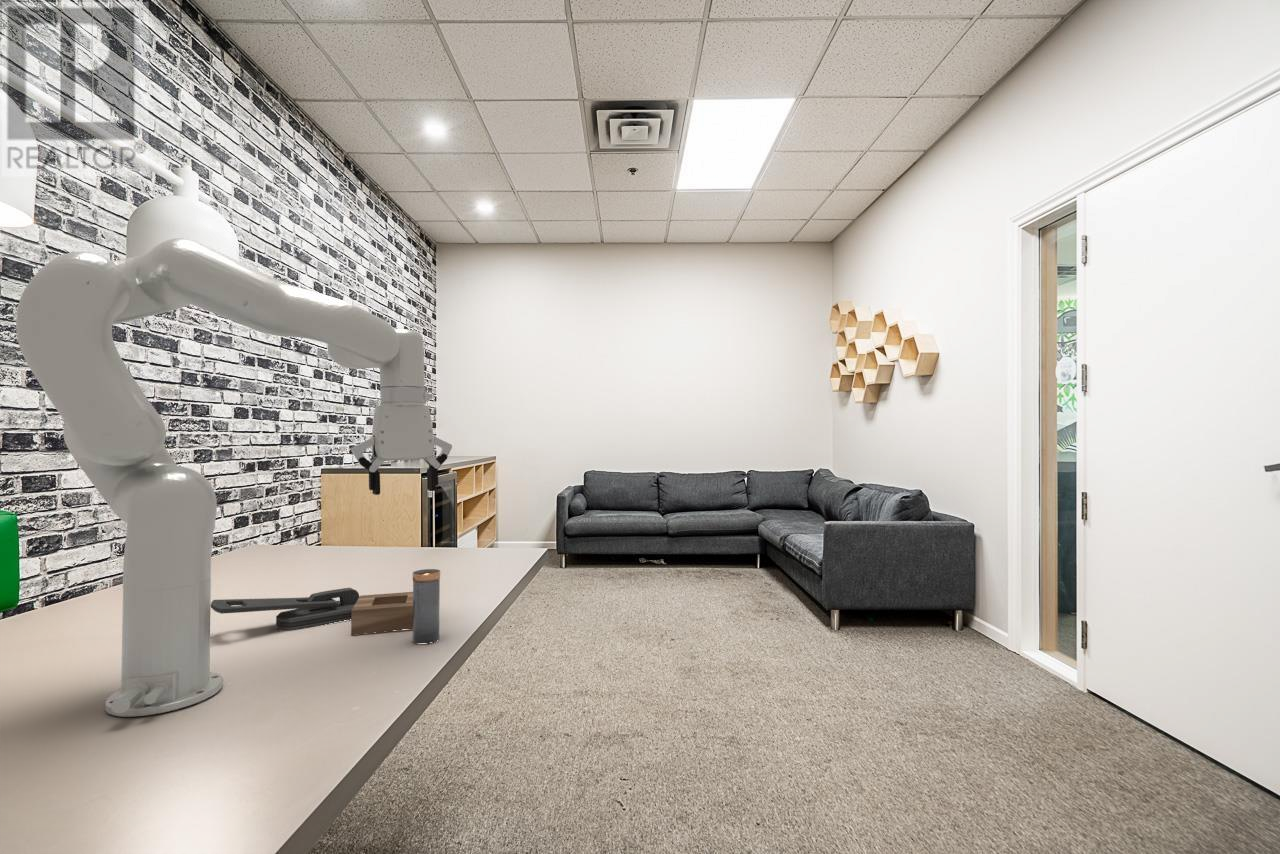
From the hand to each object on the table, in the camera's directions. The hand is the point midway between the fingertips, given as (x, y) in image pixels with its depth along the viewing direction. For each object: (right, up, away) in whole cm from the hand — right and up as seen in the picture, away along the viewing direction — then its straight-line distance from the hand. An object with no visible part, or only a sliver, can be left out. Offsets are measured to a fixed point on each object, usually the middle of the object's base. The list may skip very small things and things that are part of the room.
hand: (404, 492), depth 109 cm
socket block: (-5, -26, +6) cm, 27 cm away
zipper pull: (-24, -26, +5) cm, 36 cm away
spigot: (+5, -26, -4) cm, 26 cm away
